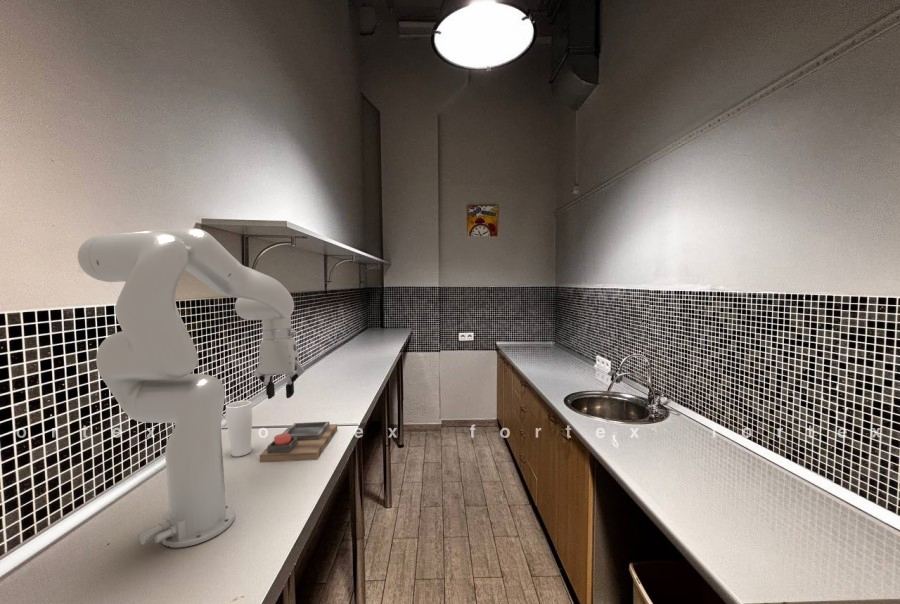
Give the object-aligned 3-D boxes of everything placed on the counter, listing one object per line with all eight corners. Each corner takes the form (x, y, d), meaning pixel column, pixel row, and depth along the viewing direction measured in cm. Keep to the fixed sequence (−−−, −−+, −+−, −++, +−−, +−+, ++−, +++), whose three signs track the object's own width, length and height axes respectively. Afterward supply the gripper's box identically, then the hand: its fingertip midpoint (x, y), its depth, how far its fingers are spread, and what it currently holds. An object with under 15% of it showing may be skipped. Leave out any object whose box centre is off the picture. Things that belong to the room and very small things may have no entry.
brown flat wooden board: (317, 459, 107) (316, 445, 106) (259, 462, 106) (258, 448, 106) (337, 430, 128) (336, 418, 128) (289, 432, 128) (289, 420, 128)
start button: (287, 447, 108) (287, 438, 108) (272, 447, 108) (271, 439, 108) (293, 440, 112) (292, 433, 112) (278, 441, 112) (277, 433, 112)
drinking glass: (232, 460, 107) (230, 409, 107) (225, 454, 112) (222, 404, 111) (257, 452, 112) (255, 403, 112) (249, 446, 117) (246, 399, 116)
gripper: (311, 332, 113) (314, 392, 113) (253, 334, 112) (257, 394, 113) (302, 335, 105) (305, 399, 106) (240, 337, 105) (244, 402, 105)
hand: (280, 396), depth 109 cm, fingers open, 4 cm apart
